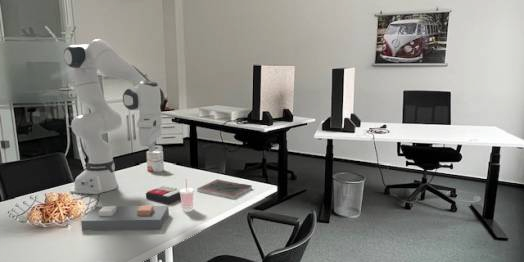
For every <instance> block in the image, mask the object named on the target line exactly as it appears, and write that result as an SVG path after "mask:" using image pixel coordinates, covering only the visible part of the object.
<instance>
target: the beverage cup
mask: <svg viewBox="0 0 524 262" xmlns="http://www.w3.org/2000/svg"><path fill="white" fill-rule="evenodd" d="M179 189H180V190H179V191H180V196H181V199H180V203H181V210H182V212H185V213H189V212H192V211H193V210H194V191H195V189H194V188H193V187H188V179H187V178H185V187H183V188H179Z"/></svg>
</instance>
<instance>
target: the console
mask: <svg viewBox="0 0 524 262" xmlns="http://www.w3.org/2000/svg"><path fill="white" fill-rule="evenodd" d="M115 206H116V213H115V214H114V215H113V216H99V210H100V209H101V208H102V207H103V206H95V207H93V209H92V210H91V211H90V212H89V213H87V214H86V215H85V216H84V218H83V219H81V220H80V222H81V223H80V225H81V231H83V230H84V231H85V230H86V231H87V230H91V231H141V230H142V231H144V230H148V231H149V230H162V228H163V226H164V224H165V222H166V221H167V219H168V217H169V215H170V214H169V213H170V212H169V211H170V210H169V205H153V209H154V211H153V213H152V214H151V215H143V216H138V215H137V210H138V209H139V207H140V206H141V205H125V206H124V205H122V206H121V205H120V206H119V205H115ZM87 232H88V231H87Z"/></svg>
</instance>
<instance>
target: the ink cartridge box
mask: <svg viewBox="0 0 524 262" xmlns="http://www.w3.org/2000/svg"><path fill="white" fill-rule="evenodd" d="M163 148H164V147H163V146H162V145H155V150H154V151H153V152H149V150H148V151H146V168H147V169H146V170H147V172H154V173H155V172H157V173H161V172H163V171H164V169H165V167H164V165H165V164H164V151H163V150H164V149H163Z"/></svg>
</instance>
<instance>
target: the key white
mask: <svg viewBox="0 0 524 262" xmlns="http://www.w3.org/2000/svg"><path fill="white" fill-rule="evenodd" d="M116 206H117V205H112V206H111V205H106V206H105V205H104V206H101V207H102V208H101V209H100V210H99V216H113V215H114V214H115V213H116Z"/></svg>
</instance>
